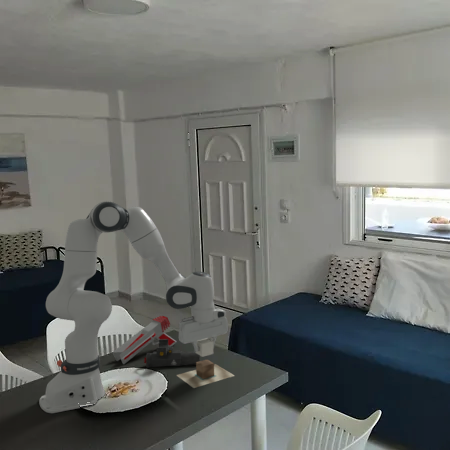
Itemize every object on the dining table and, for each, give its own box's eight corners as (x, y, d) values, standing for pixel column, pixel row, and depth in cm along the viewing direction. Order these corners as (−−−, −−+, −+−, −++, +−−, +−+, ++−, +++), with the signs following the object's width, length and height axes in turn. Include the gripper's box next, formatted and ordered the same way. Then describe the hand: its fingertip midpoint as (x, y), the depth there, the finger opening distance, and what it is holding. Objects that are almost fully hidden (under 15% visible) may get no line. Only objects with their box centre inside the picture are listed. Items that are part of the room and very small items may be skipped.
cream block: (202, 356, 194) (201, 344, 193) (195, 352, 198) (195, 340, 197) (213, 353, 197) (213, 341, 196) (206, 349, 201) (206, 337, 200)
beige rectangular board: (194, 390, 188) (193, 387, 188) (176, 377, 199) (176, 375, 199) (235, 378, 197) (234, 375, 197) (215, 366, 209) (215, 364, 209)
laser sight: (199, 370, 206) (198, 346, 205) (143, 372, 206) (142, 348, 205) (200, 361, 216) (199, 338, 215) (146, 363, 216) (145, 339, 214)
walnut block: (203, 379, 195) (202, 366, 194) (196, 374, 199) (196, 362, 198) (214, 375, 198) (213, 363, 197) (207, 371, 202) (207, 359, 201)
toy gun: (124, 378, 222) (110, 350, 216) (171, 339, 238) (160, 312, 233) (132, 382, 217) (119, 354, 212) (180, 342, 233) (169, 315, 228)
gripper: (182, 321, 187) (184, 358, 189) (229, 311, 198) (230, 345, 200) (174, 317, 192) (176, 353, 194) (221, 307, 203) (222, 341, 205)
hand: (204, 349), depth 197 cm, fingers closed on cream block, 5 cm apart
